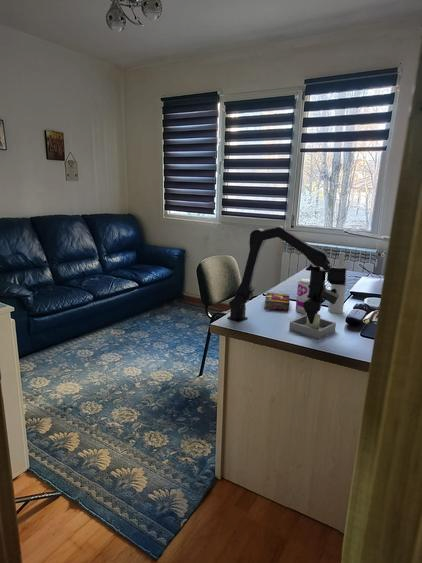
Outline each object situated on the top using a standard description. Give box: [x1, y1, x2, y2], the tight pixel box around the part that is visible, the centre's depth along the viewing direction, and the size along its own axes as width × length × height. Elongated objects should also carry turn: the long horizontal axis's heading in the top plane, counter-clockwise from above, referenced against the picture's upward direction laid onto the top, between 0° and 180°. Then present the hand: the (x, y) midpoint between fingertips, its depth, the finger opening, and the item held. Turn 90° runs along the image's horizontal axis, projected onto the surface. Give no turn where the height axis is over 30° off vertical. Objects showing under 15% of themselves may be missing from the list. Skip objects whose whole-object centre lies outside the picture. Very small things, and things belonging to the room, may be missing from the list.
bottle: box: [327, 251, 347, 315], centre depth 166 cm, size 7×7×28 cm
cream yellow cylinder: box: [306, 313, 321, 330], centre depth 144 cm, size 5×5×6 cm
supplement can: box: [295, 277, 310, 314], centre depth 167 cm, size 8×8×15 cm
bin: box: [288, 314, 337, 340], centre depth 144 cm, size 13×13×4 cm
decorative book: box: [264, 291, 290, 311], centre depth 175 cm, size 11×16×5 cm
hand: (313, 319), depth 144 cm, fingers open, 9 cm apart
